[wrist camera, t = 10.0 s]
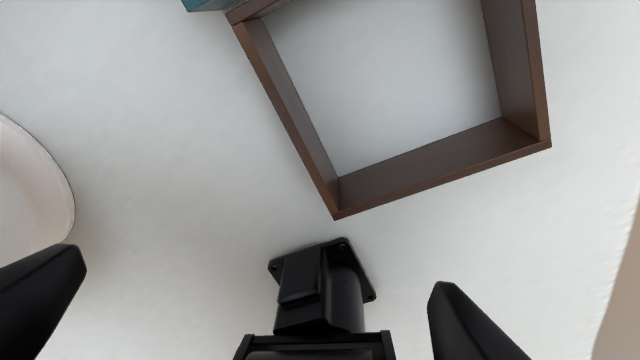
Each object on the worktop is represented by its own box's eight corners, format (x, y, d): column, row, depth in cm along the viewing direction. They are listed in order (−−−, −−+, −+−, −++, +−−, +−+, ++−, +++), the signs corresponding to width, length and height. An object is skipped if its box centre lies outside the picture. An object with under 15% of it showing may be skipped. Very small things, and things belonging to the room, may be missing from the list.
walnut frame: (512, 120, 18) (552, 147, 15) (334, 186, 21) (334, 221, 17) (472, -112, 13) (518, -150, 10) (247, 11, 16) (224, 14, 12)
